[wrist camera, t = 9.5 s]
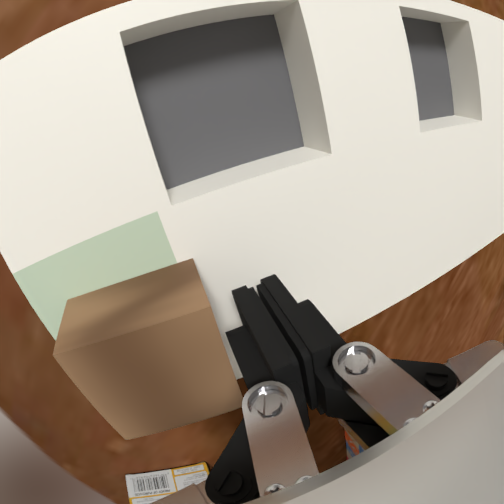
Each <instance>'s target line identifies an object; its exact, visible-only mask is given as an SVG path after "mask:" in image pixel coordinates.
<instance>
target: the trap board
mask: <svg viewBox="0 0 504 504" xmlns="http://www.w3.org/2000/svg"><path fill="white" fill-rule="evenodd" d="M502 233H504V21H503V20H501V19H499V18H496V17H494V16H492V15H489V14H487V13H484V12H482V11H479V10H476V9H474V8H471V7H468V6H465V5H462V4H459V3H456V2H453V1H450V0H132V1H129V2H126V3H122V4H119V5H116V6H113V7H110V8H107V9H105V10H102V11H99V12H96V13H94V14H91V15H89V16H86V17H84V18H81V19H79V20H76V21H74V22H72V23H69V24H67V25H65V26H63V27H61V28H58V29H56V30H54V31H52V32H50V33H48V34H46V35H44V36H42V37H40V38H38V39H36V40H34V41H32V42H31V43H29V44H27V45H25V46H23V47H21V48H20V49H18V50H16V51H15V52H13V53H11V54H9V55H8V56H6V57H5V58H3V59H1V60H0V252H1V254H2V256H3V258H4V259H5V261H6V263H7V265H8V267H9V269H10V270H11V272H12V274H13V276H14V278H15V279H16V281H17V283H18V284H19V286H20V288H21V289H22V291H23V293H24V294H25V296H26V298H27V299H28V301H29V302H30V304H31V305H32V307H33V309H34V310H35V312H36V313H37V315H38V316H39V318H40V319H41V321H42V322H43V323H44V325H45V326H46V328H47V329H48V331H49V332H50V333H51V335H52V336H53V338H54V339H55V340H56V339H57V335H58V331H59V327H60V324H61V320H62V316H63V313H64V309H65V306H66V302H67V300H68V299H71V298H74V297H77V296H80V295H83V294H86V293H89V292H92V291H95V290H98V289H101V288H104V287H107V286H110V285H113V284H116V283H119V282H122V281H125V280H128V279H131V278H134V277H137V276H140V275H143V274H146V273H149V272H152V271H155V270H158V269H161V268H164V267H167V266H170V265H173V264H176V263H179V262H182V261H185V260H188V259H191V258H193V260H194V262H195V265H196V268H197V271H198V273H199V276H200V279H201V281H202V284H203V287H204V289H205V292H206V295H207V297H208V300H209V303H210V305H211V308H212V311H213V314H214V317H215V320H216V323H217V326H218V329H219V332H220V335H221V338H222V341H223V344H224V346H225V349H226V352H227V355H228V358H229V361H230V363H231V366H232V369H233V372H234V375H235V377H236V380H237V379H240V378H242V377H243V376H242V373H241V371H240V368H239V366H238V364H237V361H236V359H235V356H234V354H233V351H232V349H231V346H230V344H229V341H228V339H227V336H226V334H225V332H227V331H230V330H233V329H235V328H238V327H240V326H243V324H242V321H241V319H240V316H239V313H238V310H237V307H236V304H235V301H234V298H233V295H232V291H231V290H234V289H237V288H239V287H242V286H245V285H246V286H247V288H251V287H253V288H254V289H255V291H256V292H257V294H258V291H257V287H256V285H258V284H261V282H260V280H261V279H263V278H265V277H268V276H271V275H273V274H275V275H276V276H277V277H278V278H279V279H280V281H281V282H282V283H283V285H284V286H285V287H286V288H287V290H288V291H289V292H290V294H291V295H292V296H293V297H294V299H295V300H296V301H297V303H299V302H302V301H304V300H307V299H308V300H310V301H311V302H312V303H313V304H314V305H315V307H316V308H317V309H318V310H319V311H320V313H321V314H322V315H323V316H324V317H325V319H326V320H327V321H328V322H329V323H330V325H331V326H332V327H333V328H334V329H335V331H336V332H337V333H338V334H340V333H342V332H344V331H346V330H348V329H350V328H351V327H353V326H355V325H357V324H359V323H361V322H363V321H365V320H367V319H368V318H370V317H372V316H374V315H376V314H378V313H379V312H381V311H383V310H385V309H387V308H388V307H390V306H392V305H394V304H395V303H397V302H399V301H401V300H402V299H404V298H406V297H408V296H409V295H411V294H413V293H414V292H416V291H418V290H419V289H421V288H423V287H424V286H426V285H427V284H429V283H431V282H432V281H434V280H435V279H437V278H439V277H440V276H442V275H443V274H445V273H446V272H448V271H449V270H451V269H453V268H454V267H456V266H457V265H459V264H460V263H462V262H463V261H465V260H466V259H467V258H469V257H470V256H472V255H473V254H475V253H476V252H478V251H479V250H480V249H482V248H483V247H485V246H486V245H487V244H489V243H490V242H492V241H493V240H494V239H496V238H497V237H498V236H500V235H501V234H502ZM258 296H259V295H258Z"/></svg>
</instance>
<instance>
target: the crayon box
mask: <svg viewBox="0 0 504 504" xmlns="http://www.w3.org/2000/svg"><path fill="white" fill-rule="evenodd" d="M209 473H210V471H209V468H208V466H207V464H206V463H205V462H200V463H197V464H195V465H190V466H185V467H180V468H174V469H168V470H162V471H155V472H148V473H141V474H127V475H126V484H127V490H128V496H129V501H130V504H150V503H152V502H155V501H157V500H159V499H161V498H164V497H166V496H168V495H170V494H173V493H175V492H177V491H179V490H181V489H183V488H185V487H187V486H189V485H191V484H193V483H194V484H196V485H197V484H199V483H201V482H203V481H204V480H206V479H207V477H208V475H209Z"/></svg>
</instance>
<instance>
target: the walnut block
mask: <svg viewBox="0 0 504 504" xmlns="http://www.w3.org/2000/svg"><path fill="white" fill-rule="evenodd" d="M53 356H54V357H55V359H56V360H57V361H58V363H59V364H60V365H61V367H62V368H63V369H64V371H65V372H66V373H67V375H68V376H69V377H70V379H71V380H72V381H73V382H74V384H75V385H76V386H77V387H78V388H79V390H80V391H81V392H82V393H83V394H84V396H85V397H86V398H87V399H88V400H89V401H90V403H91V404H92V405H93V406H94V407H95V408H96V409H97V411H98V412H99V413H100V414H101V415H102V416H103V417H104V418H105V419H106V420H107V421H108V423H109V424H110V425H111V426H112V427H113V428H114V429H115V430H116V431H117V432H118V433H119V434H120V435H121V436H122V437H123V438H124V439H125V440H129V439H133V438H138V437H142V436H146V435H150V434H155V433H159V432H163V431H166V430H170V429H174V428H178V427H181V426H185V425H188V424H192V423H195V422H198V421H202V420H205V419H208V418H211V417H214V416H217V415H221V414H224V413H227V412H229V411H232V410H235V409H238V408H241V407H242V401H243V396H242V394H241V391H240V388H239V386H238V383H237V380H236V377H235V375H234V372H233V369H232V366H231V363H230V361H229V358H228V355H227V352H226V349H225V346H224V344H223V341H222V338H221V335H220V332H219V329H218V326H217V323H216V320H215V317H214V314H213V311H212V308H211V305H210V303H209V300H208V297H207V295H206V292H205V289H204V287H203V284H202V281H201V279H200V276H199V273H198V271H197V268H196V265H195V262H194V260H193V258H191V259H188V260H185V261H182V262H179V263H176V264H173V265H170V266H167V267H164V268H161V269H158V270H155V271H152V272H149V273H146V274H143V275H140V276H137V277H134V278H131V279H128V280H125V281H122V282H119V283H116V284H113V285H110V286H107V287H104V288H101V289H98V290H95V291H92V292H89V293H86V294H83V295H80V296H77V297H74V298H71V299H68V300H67V302H66V306H65V309H64V313H63V316H62V320H61V324H60V327H59V331H58V335H57V339H56V343H55V348H54V352H53Z"/></svg>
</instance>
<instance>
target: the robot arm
mask: <svg viewBox="0 0 504 504" xmlns="http://www.w3.org/2000/svg"><path fill="white" fill-rule="evenodd" d="M260 282H261V284H258V285H256V287H257V291H258V294H257V292H256V291H255V289H254V288H253V287H251V288H247V286H246V285H245V286H242V287H239V288H237V289H234V290H231V291H232V295H233V298H234V301H235V304H236V307H237V310H238V313H239V316H240V319H241V321H242V324H243V326H240V327H238V328H235V329H233V330H230V331H227V332H225V334H226V336H227V339H228V341H229V344H230V346H231V349H232V351H233V354H234V356H235V359H236V361H237V364H238V366H239V368H240V371H241V373H242V376H243V378H244V381H245V383H246V385H247V388H248V392H247V393H246V394H245V395H244V398H243V401H242V410H243V415H244V418H243V419H242V421H241V423H240V424H239V426H238V428H237V429H236V431H235V433H234V434H233V436H232V438H231V439H230V441H229V443H228V444H227V446H226V448H225V449H224V451H223V452H222V454H221V456H220V457H219V459H218V460H217V462H216V464H215V465H214V467H213V468H212V470H211V471H210V473H209V475H208V477H207V479H206V480H204V481H203V482H201V483H199V484H197V485H196V484H194V483H193V484H191V485H189V486H187V487H185V488H183V489H181V490H179V491H177V492H175V493H173V494H170V495H168V496H166V497H164V498H161V499H159V500H157V501H155V502H152V503H150V504H504V345H503V344H502V343H500V342H498V341H493V340H490V341H487V342H484V343H482V344H480V345H478V346H476V347H474V348H472V349H470V350H468V351H466V352H464V353H462V354H460V355H457V356H455V357H453V358H451V359H448V360H447V363H445V364H439V363H430V362H418V361H407V360H397V359H389V358H388V357H386V356H385V355H384V354H383V353H381V352H380V351H379V350H378V349H376V348H375V347H374V346H372V345H370V344H368V343H364V342H352V343H348V344H346V343H345V341H344V340H343V339H342V338H341V337H340V335H339V334H338V333H337V332H336V331H335V329H334V328H333V327H332V326H331V325H330V323H329V322H328V321H327V320H326V319H325V317H324V316H323V315H322V314H321V313H320V311H319V310H318V309H317V308H316V307H315V305H314V304H313V303H312V302H311V301H310V300H308V299H307V300H304V301H302V302H299V303H297V301H296V300H295V299H294V297H293V296H292V295H291V294H290V292H289V291H288V290H287V288H286V287H285V286H284V285H283V283H282V282H281V281H280V279H279V278H278V277H277V276H276V275H275V274H273V275H271V276H268V277H265V278H263V279H261V280H260ZM258 295H259V296H258ZM306 402H307V403H306ZM307 404H308V406H309V407H310V409H311V410H313V409H315V408H317V410H318V412H319V413H320V415H322V414H324V413H326V415H327V416H329V417H335V418H336V419H337V421H338V422H339V423H340V425H341V426H342V427H343V428H344V429H345V430H346V431H347V432H348V433H349V434H350V435H351V436H352V437H353V438H354V439H355V441H356V442H357V443H358V444H359V445H360V446H361V447H362V448H363V449H364V450H365V451H363V452H361V453H360V454H358V455H356V456H354V457H352V458H350V459H348V460H346V461H345V462H343V463H341V464H339V465H337V466H335V467H333V468H331V469H328V470H326V471H324V472H322V473H320V474H319V472H318V469H317V466H316V463H315V460H314V457H313V454H312V451H311V448H310V445H309V442H308V439H307V436H306V432H307V430H308V428H309V426H310V421H309V416H308V408H307Z"/></svg>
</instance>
